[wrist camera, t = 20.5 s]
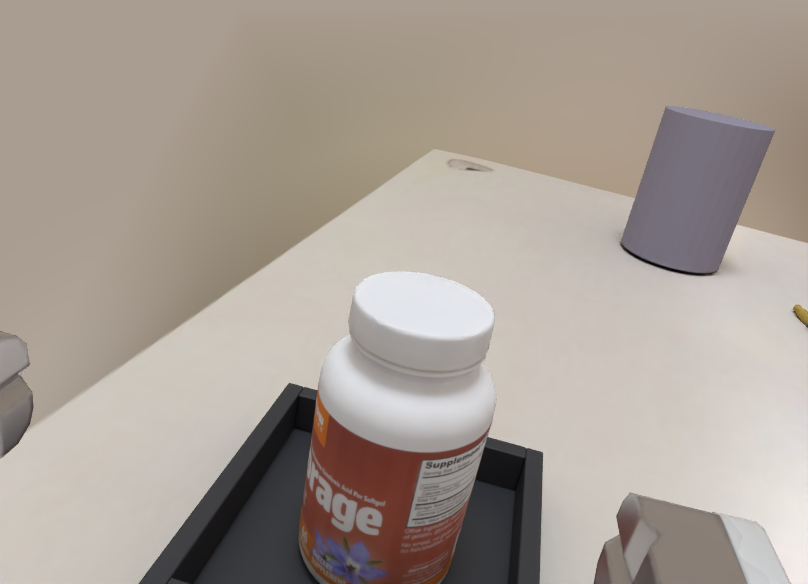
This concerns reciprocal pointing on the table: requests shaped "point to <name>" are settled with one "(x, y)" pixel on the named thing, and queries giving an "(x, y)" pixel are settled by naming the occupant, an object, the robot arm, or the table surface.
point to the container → (694, 189)
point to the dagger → (801, 314)
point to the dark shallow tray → (282, 502)
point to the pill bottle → (398, 432)
